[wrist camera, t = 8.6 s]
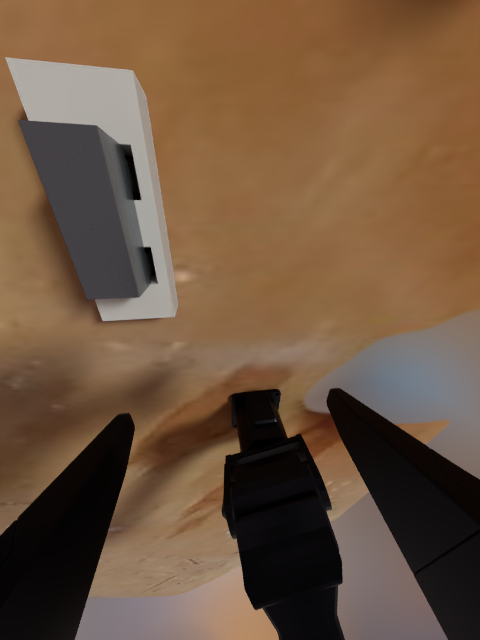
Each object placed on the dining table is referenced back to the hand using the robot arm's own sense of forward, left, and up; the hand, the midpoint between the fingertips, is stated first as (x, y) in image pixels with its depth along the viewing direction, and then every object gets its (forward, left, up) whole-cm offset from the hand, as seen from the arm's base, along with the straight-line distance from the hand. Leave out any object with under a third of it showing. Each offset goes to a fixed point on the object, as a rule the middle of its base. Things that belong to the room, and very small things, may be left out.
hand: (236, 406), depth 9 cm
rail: (+7, +7, -12) cm, 15 cm away
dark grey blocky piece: (+7, +7, -12) cm, 15 cm away
